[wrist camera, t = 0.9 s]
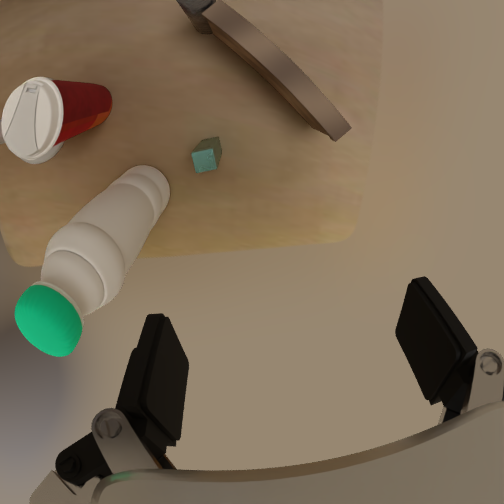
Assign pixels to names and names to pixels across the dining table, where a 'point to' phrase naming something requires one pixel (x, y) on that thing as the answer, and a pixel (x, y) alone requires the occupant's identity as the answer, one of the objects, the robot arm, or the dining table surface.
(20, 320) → the water bottle
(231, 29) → the gate
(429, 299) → the robot arm
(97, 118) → the paper cup
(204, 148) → the gate posts
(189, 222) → the dining table surface
